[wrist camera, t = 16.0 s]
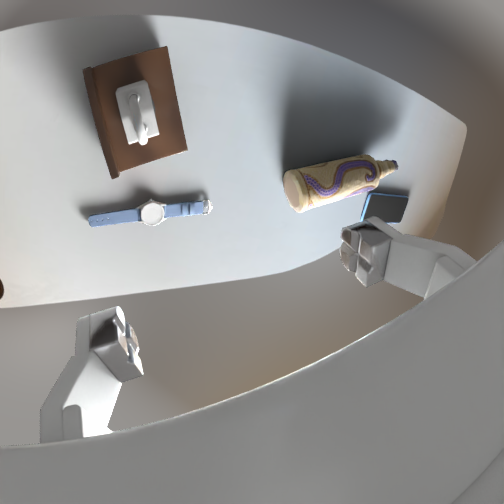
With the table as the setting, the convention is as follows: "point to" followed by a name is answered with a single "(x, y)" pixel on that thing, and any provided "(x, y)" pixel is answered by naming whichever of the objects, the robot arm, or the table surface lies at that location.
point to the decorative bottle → (334, 180)
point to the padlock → (137, 112)
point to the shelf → (108, 117)
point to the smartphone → (385, 207)
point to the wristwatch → (149, 213)
